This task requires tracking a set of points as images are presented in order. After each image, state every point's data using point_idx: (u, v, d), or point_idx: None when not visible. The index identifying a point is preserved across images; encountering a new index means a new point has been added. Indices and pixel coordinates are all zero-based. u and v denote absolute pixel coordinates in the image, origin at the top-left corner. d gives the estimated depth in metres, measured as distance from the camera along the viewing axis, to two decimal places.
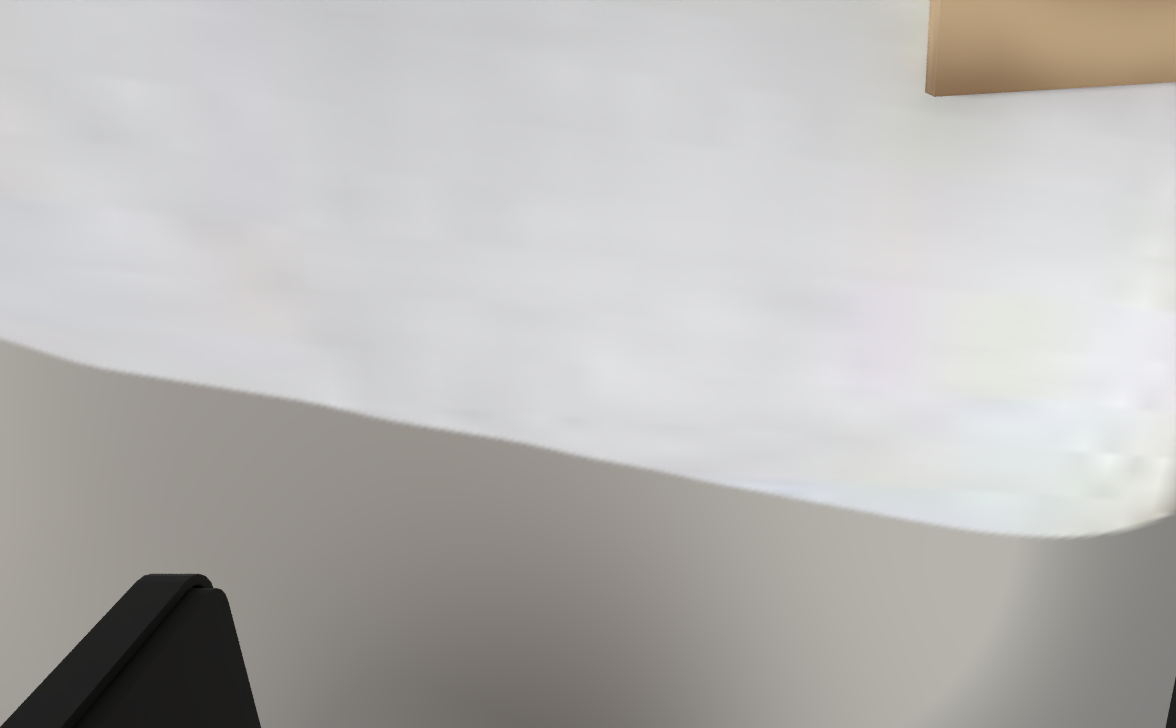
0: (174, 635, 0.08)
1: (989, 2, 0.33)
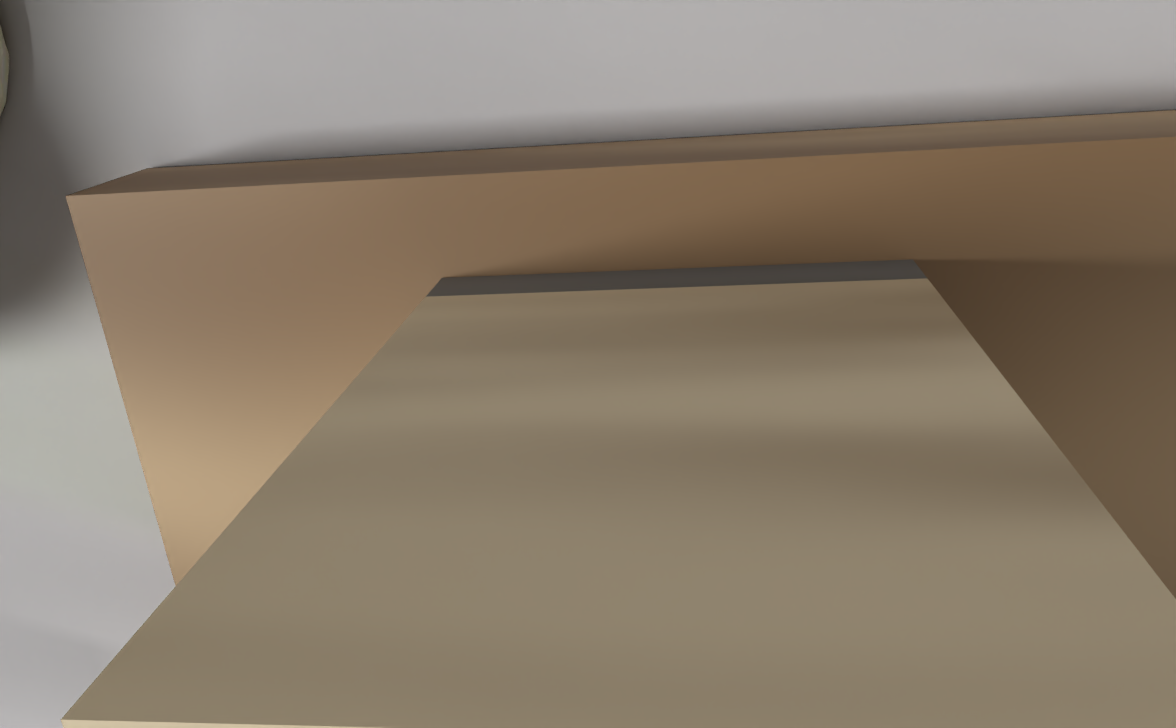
0: None
1: None
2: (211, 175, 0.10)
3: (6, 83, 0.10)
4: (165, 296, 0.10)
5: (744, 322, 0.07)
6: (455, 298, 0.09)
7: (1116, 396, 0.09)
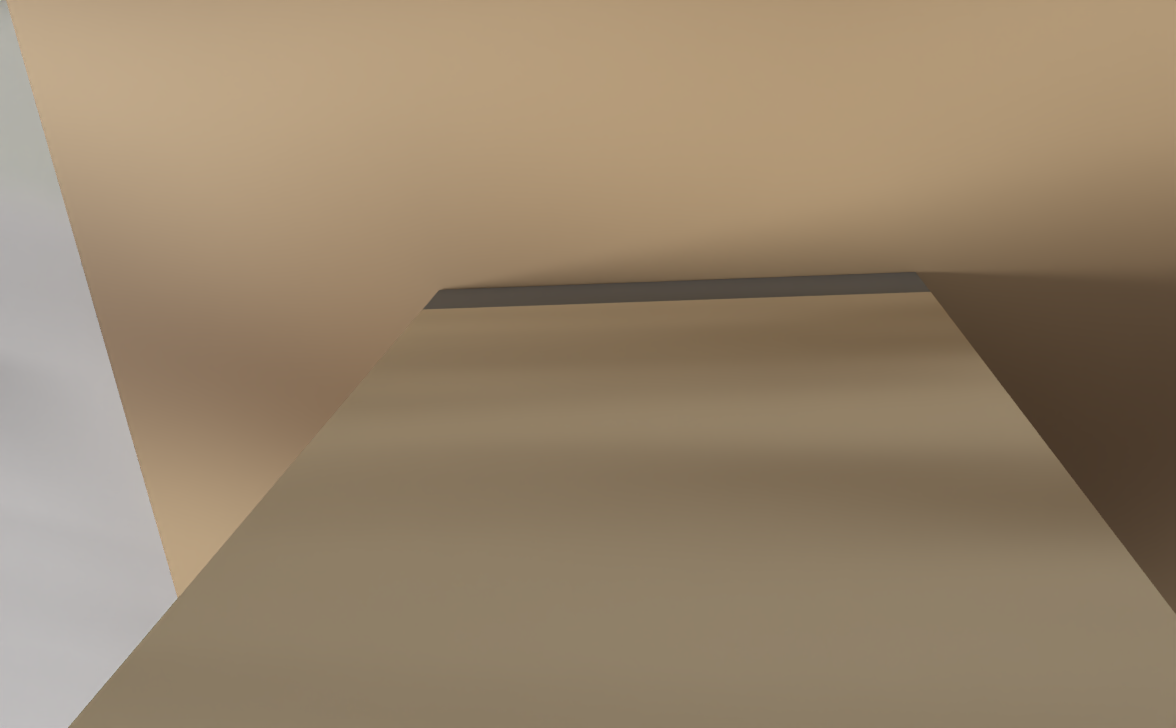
0: None
1: None
2: None
3: None
4: None
5: (746, 337, 0.07)
6: (453, 311, 0.09)
7: None
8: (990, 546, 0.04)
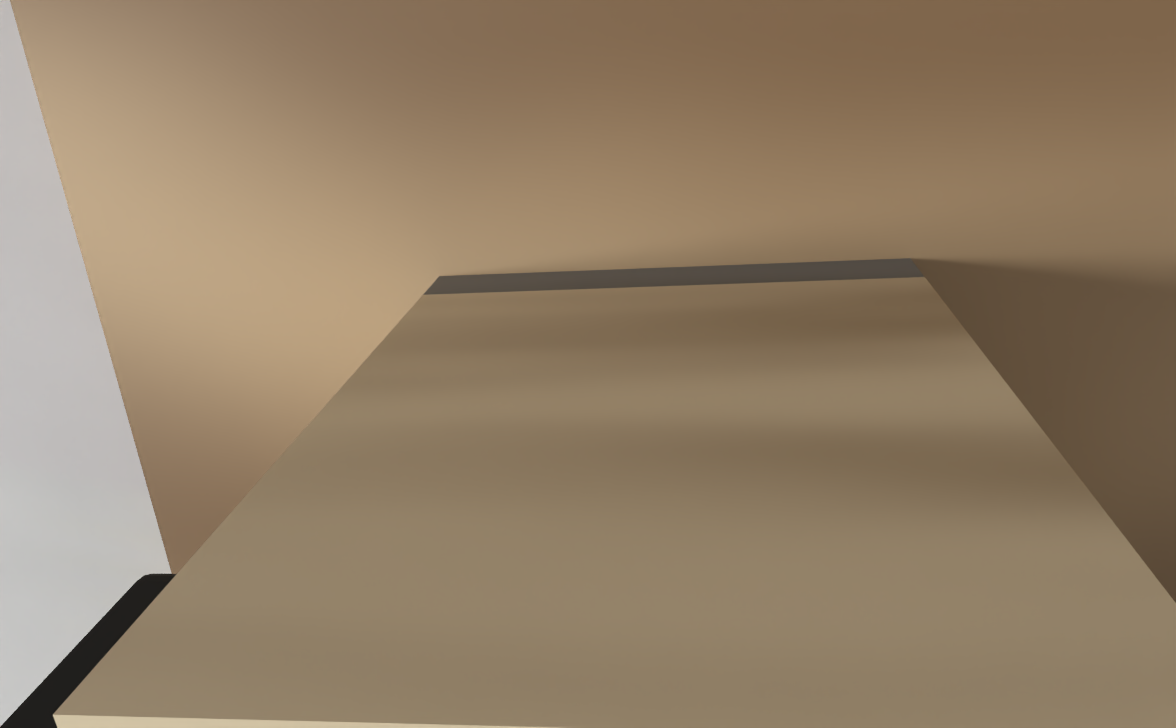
0: None
1: None
2: None
3: None
4: None
5: (741, 320, 0.07)
6: (453, 297, 0.09)
7: None
8: (977, 515, 0.05)
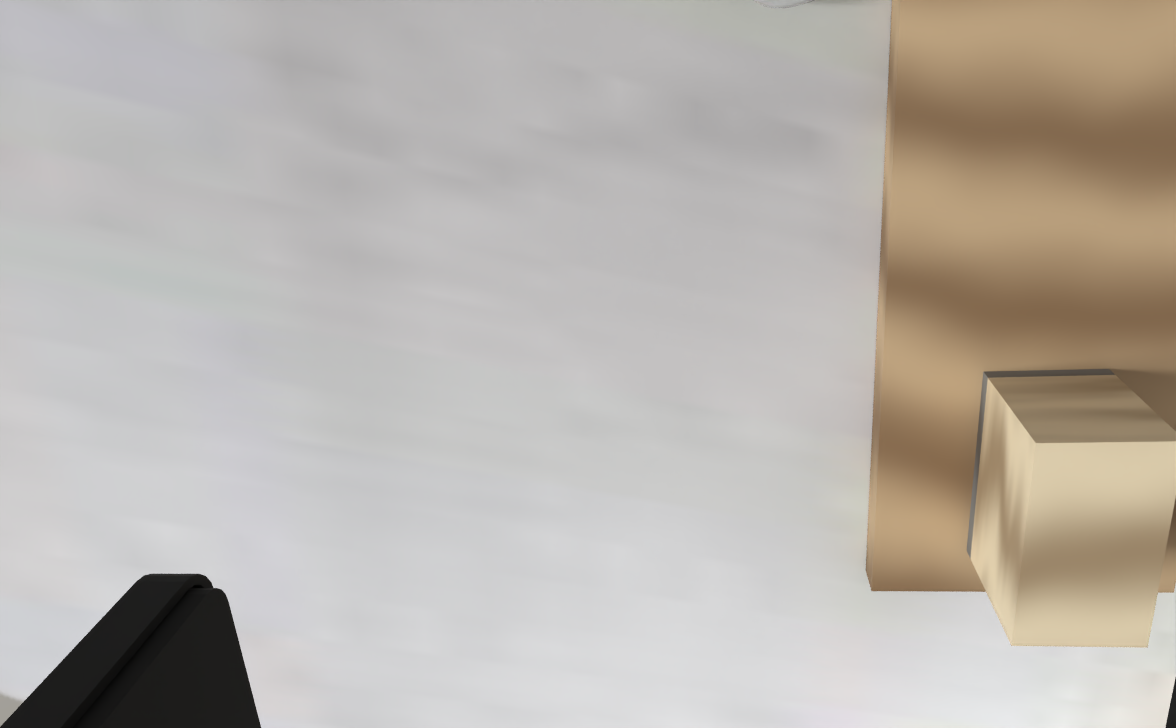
0: (174, 635, 0.08)
1: (917, 527, 0.38)
2: None
3: None
4: None
5: (1079, 386, 0.34)
6: (995, 378, 0.35)
7: None
8: (1145, 421, 0.31)
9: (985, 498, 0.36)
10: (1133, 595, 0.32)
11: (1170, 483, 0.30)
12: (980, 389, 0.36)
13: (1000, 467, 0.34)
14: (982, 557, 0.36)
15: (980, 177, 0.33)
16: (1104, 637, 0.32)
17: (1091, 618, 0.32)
